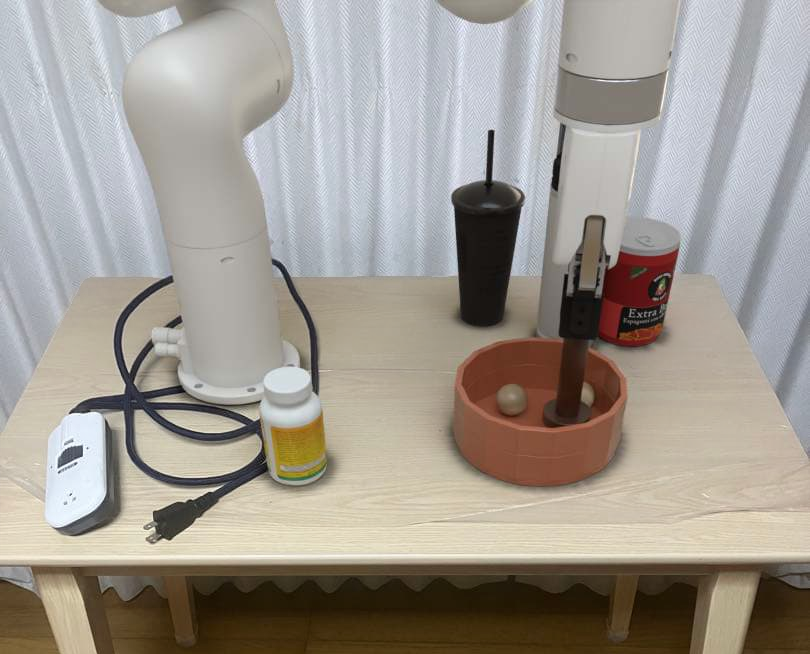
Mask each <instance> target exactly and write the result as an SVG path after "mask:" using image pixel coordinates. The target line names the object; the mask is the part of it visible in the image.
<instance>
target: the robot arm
mask: <svg viewBox="0 0 810 654" xmlns="http://www.w3.org/2000/svg"><path fill="white" fill-rule="evenodd" d="M434 1H435V2H436V3H437V4H438V5H440V6H441V7H442V8H443V9H445V10H446V11H448V12H449V13H450V14H452V15H453V16H455V17H457V18H459V19H461V20H464V21H466V22H469V23H472V24H478V25H490V24H497V23H498V24H499V23H500V22H504V21H506V20H508V19H510V18H512V17H514V16H515V15H517V14H518V13H520V12H521V11H522V10H523V9H525V8H526V7H527V6H528V5H530V4H531V3H532V2H533V1H534V0H434ZM681 1H682V0H563V4H562V6H563V7H562V16H561V26H560V27H561V29H560V38H559V50H558V58H557V59H558V60H557V69H556V79H555V80H556V83H555V92H554V103H553V113H552V114H553V118H554V119H555V120H556V121H557V122H558V123H560V124H562V125H564V126H565V131H564V138H563V143H562V151H561V152H562V158H561V167H560V177H559V186H558V196H557V207H556V216H555V227H554V239H553V251H552V261H553V263H554V264H555V265H556V266H557V267H560V265H568V273H569V274H564V283H563V291H562V300H561V309H560V324H559V336H560V337H561V338H569V339H584V340H594V341H595V340H596V339H597V338H598V337H599V336H598V330H599V323H600V316H601V310H602V303H603V297H604V293H602V288H603V281H604V274H605V268H606V266H607V268H608V269H611V268H612V267H613V266H615V265H616V263H617V259H618V255H619V250H620V246H621V241H622V236H623V231H624V226H625V221H626V218H627V216H628V211H629V206H630V200H631V195H632V190H633V189H632V188H633V182H634V178H635V171H636V164H637V158H638V152H639V147H640V146H639V145H640V141H641V133H642V131H643V130H646V129H649V128H652V127H654V126H656V125H657V123H659V122H660V120H661V116H662V110H663V104H664V99H665V93H666V88H667V87H666V86H667V80H668V76H669V70H670V63H671V59H672V52H673V46H674V40H675V35H676V28H677V23H678V16H679V12H680V7H681ZM96 2H98V3H99V4H100V5H101V6H102V7H103V8H104V9H106V10H107V11H109V12H111V13H113V14H114V15H116V16H119V17H123V18H133V19H135V18H142V17H146V16H147V17H148V16H150V15H154V14H157V13H160V12H161V13H162V12H164V11H165V10H169V9H171V8H173V7H175V10H176V11H177V13H178V15H179V18H180V20H181V22H182V24H180V25H177V26H175V27H173V28H170V29H168V30H166V31H164V32H162V33H160V34H158V35H156V36H155V37H153V38H151V39H150V40H149V41H147V42H146V43H144V45H143V46H141V47H140V48H139V49H138V50H137V51H136V52H135V53H134V55H133V56H132V58H131V59H130V61H129V63H128V65H127V66H126V68H125V71H124V75H123V78H122V85H121V86H122V87H121V99H122V107H123V112H124V115H125V119H126V123H127V124H128V127H129V130H130V132H131V135H132V137H133V139H134V142H135V144H136V147H137V149H138V151H139V154H140V156H141V159H142V161H143V164H144V167H145V170H146V172H147V176H148V179H149V182H150V185H151V189H152V192H153V193H152V194H153V197H154V200H155V204H156V208H157V213H158V218H159V221H160V227H161V230H162V231H161V232H162V235H163V238H164V243H165V248H166V252H167V257H168V262H169V265H170V266H169V268H170V271H171V275H172V279H173V280H172V281H173V285H174V289H175V290H174V291H175V295H176V299H177V304H178V308H179V312H180V317H181V322H182V327H181V328H180V329H179V328H172V327H162V326H160V327H159V326H154V327H153V328H152V330H151V336H150V337H151V342H152V344H153V346H154V355H155V356H156V357H162V358H170V357H172V358H173V357H174V358H177V360H179V363H178V366H177V376H178V380H179V384H180V385H181V388H182V390H184V391H185V392H186V393H187V394H188V395H190V396H192V397H193V398H195V399H198V400H200V401H203V402H206V403H211V404H215V405H226V406H227V405H228V406H231V405H233V406H234V405H244V404H245V405H246V404H252V403H257V402H261V401H262V399H263V398H264V397H265V394H264V385H263V380H264V377H265V376H266V375H267V374H268V373H269V372H271V371H273V370H275V369H278V368H281V367H299V368H302V367H301V358H300V357H301V356H300V353H299V351H298V350H297V348H296V347H295V346H294V345H293V344H291V342H289V341H288V340H285V339H283V336H282V329H281V321H280V314H279V313H280V312H279V305H278V297H277V291H276V290H277V289H276V283H275V282H276V281H275V274H274V266H273V260H272V252H271V244H270V237H269V229H268V222H267V215H266V208H265V207H266V206H265V201H264V197H263V193H262V188H261V185H260V182H259V180H258V177H257V174H256V172H255V171H254V169H253V167H252V165H251V163H250V161H249V159H248V156H247V154H246V151H245V147H244V138H246V137H247V136H248V135H250V134H251V133H252V132H253V131H255V130H256V129H258V128H259V127H261V126H262V125H264V124H265V123H266V122H268V121H269V120H271V119H273V117H274V116H275V115H277V114H278V113H279V112H280V111H281V110H282V109H283V108H284V107H285V105H286V103H287V102H288V100H289V98H290V96H291V93H292V90H293V87H294V79H295V78H294V77H295V65H294V57H293V53H292V49H291V43H290V40H289V37H288V34H287V31H286V29H285V25H284V23H283V19H282V17H281V14H280V12H279V11H280V10H279V8H278V6H277V3H276V0H96ZM576 268H578V269H581V270H580V273H576ZM575 274H576V275H575Z"/></svg>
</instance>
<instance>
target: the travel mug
mask: <svg viewBox="0 0 810 654" xmlns="http://www.w3.org/2000/svg"><path fill="white" fill-rule="evenodd" d="M561 158H562V151H560V152H559V153H557V155H556V157H555V158H554V159H553V163H552V176H551V181H550V191H549V198H548V206H547V208H548V209H547V218H546V229H545V239H544V247H543V248H544V249H543V259H542V268H541V278H540V289H539V298H538V300H539V301H538V308H537V309H538V311H537V319H536V322H537V323H536V329H535V330H536V331H535V337H536V338H552V339H562V340H563V339H564V338H561V337H560V336H559V324H560V309H561V300H562V291H563V283H564V274H569V273H568V265H560V267H557V266H556V265H555V264H554V263H553V261H552V251H553V239H554V227H555V216H556V207H557V196H558V186H559V177H560V167H561ZM594 342H595V340H590V341H589V347H590V348H592V346H593V345H594Z"/></svg>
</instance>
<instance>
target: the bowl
mask: <svg viewBox="0 0 810 654" xmlns="http://www.w3.org/2000/svg"><path fill="white" fill-rule="evenodd" d="M562 347H563V340H562V339H552V338H536V336H527V337H526V336H525V337H519V338H513V339H512V338H511V339H505V340H499V341H496V342H493V343H490V344H488V345H486V346H484V347H482V348H479V349H477V350H474V351H473V352H472V353H471V354H470V355H469V356H467V358H465V359H464V360H463V362H461V363H460V365H458V366H457V372H456V375H455V381H454V392H453V393H454V394H453V395H454V398H453V435H454V440H455V444H456V447H457V449H458V450H459V452H460V454H461V455H462V457H464V459H465V460H466V461H467V462H468V463H469V464H470V465H471V466H473V467H474V468H476V469H477V470H478V471H481V472H482V473H483V474H486V475H488V476H490V477H492V478H495V479H497V480H500V481H504V482H507V483H511V484H516V485H521V486H528V487H529V486H530V487H555V486H557V487H558V486H565V485H569V484H573V483H577V482H580V481H583V480H586V479H588V478H590V477H592V476H594V475H596V474H598V473H599V472H600V471H602V470H603V469H605V467H607V466H608V464H610V462H611V461H612V459H613V458H614V456H615V453H616V450H617V449H618V448H619V445H620V439H621V434H622V428H623V424H624V423H623V422H624V418H625V412H626V407H627V401H628V381H627V377H626V376H625V374H624V373H623V372H622V370H621V369H620V368H619V367H618V365H617V364H616V363H615V361H614V360H613V359H611V358H609V357H607V356H606V355H604V354H602V353H601V352H599V351H597V350H595V349H593V348H592V347H589V348H588V355H587V361H586V368H585V375H584V382H586V383H588V384H589V385H590V386H591V387H592V388H593V390H594V393H595V399H594V403H593V404H592V406H591V407H590V410H591V419H590V421H589V422H586V423H582V424H576V425H570V426H564V427H558V428H548V427H546V426H545V424H544V423H543V421H542V412H543V407H544V405H545V404H546V403H547V402H548V401H550V400H552V399H556V397H557V389H558V380H559V372H560V364H561V356H562ZM507 384H517V385H519V386H521V387H522V388H523V389H524V390H525V391H526V393H527V397H528V402H527V405H526V407H525V409H524V410H523V411H522V412H521V413H519V414H517V415H513V416H510V415H506V414H504V413H502V412H501V411H500V410H499V409H498V407H497V404H496V396H497V393H498V391H499V390H500V389H501V388H502V387H503V386H505V385H507Z"/></svg>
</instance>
